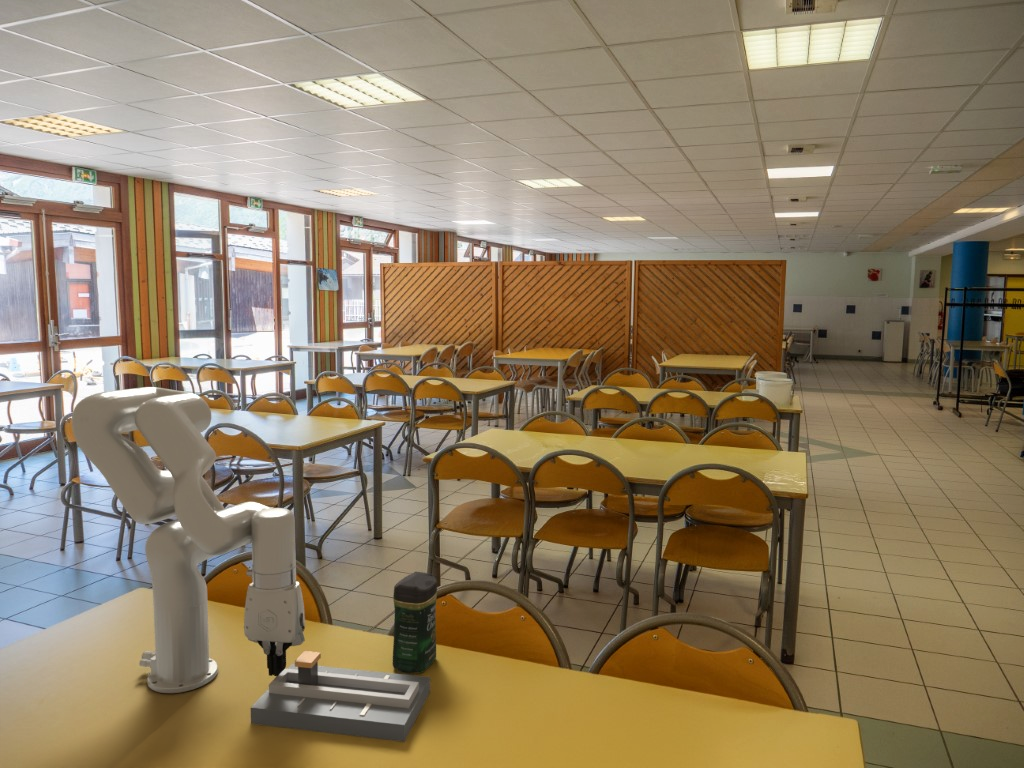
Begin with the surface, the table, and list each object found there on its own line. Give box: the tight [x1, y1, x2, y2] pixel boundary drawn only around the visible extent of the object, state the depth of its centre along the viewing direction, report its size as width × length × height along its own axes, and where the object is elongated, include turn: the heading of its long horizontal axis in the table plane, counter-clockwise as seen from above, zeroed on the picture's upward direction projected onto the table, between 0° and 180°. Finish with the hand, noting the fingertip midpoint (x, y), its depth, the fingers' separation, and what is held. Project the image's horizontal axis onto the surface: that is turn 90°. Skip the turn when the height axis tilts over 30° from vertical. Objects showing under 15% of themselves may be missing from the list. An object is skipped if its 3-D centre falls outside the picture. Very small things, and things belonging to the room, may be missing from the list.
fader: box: [294, 650, 322, 686], centre depth 131 cm, size 3×4×6 cm
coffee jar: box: [392, 571, 438, 675], centre depth 146 cm, size 10×8×19 cm
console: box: [250, 662, 431, 743], centre depth 131 cm, size 28×16×5 cm, turn 81°
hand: (276, 672), depth 132 cm, fingers closed
